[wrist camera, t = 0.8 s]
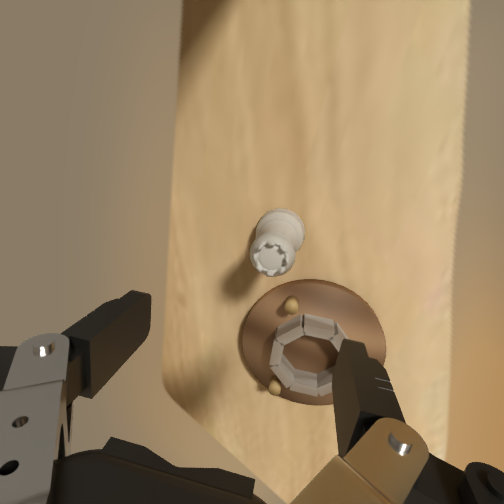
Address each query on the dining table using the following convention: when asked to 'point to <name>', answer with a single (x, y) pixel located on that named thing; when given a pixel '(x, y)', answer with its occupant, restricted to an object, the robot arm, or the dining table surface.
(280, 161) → the dining table surface
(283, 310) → the carrier disc
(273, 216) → the rook chess piece
